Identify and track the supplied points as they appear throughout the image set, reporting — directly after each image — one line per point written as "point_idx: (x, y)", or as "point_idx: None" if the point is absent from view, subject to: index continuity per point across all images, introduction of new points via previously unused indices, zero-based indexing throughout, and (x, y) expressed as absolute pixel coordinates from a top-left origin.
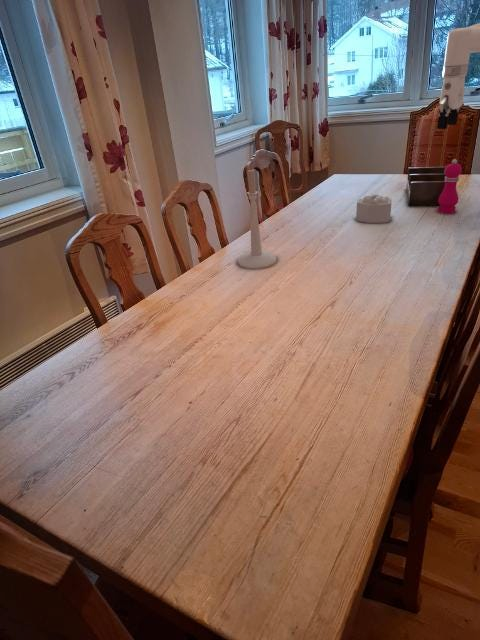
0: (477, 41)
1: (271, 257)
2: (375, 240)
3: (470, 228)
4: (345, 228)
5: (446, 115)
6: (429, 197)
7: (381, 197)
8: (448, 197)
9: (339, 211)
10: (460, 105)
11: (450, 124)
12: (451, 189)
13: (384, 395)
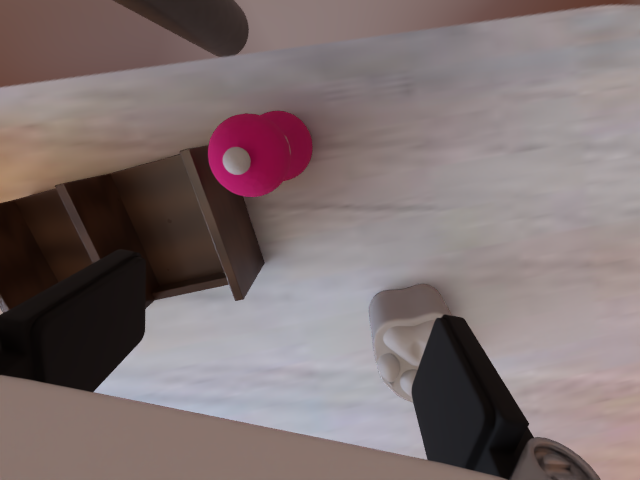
0: None
1: None
2: (597, 284)
3: (452, 39)
4: (503, 371)
5: (589, 465)
6: (238, 215)
7: (415, 351)
8: (305, 145)
9: (360, 415)
10: (12, 406)
11: (143, 307)
12: (290, 141)
13: None
